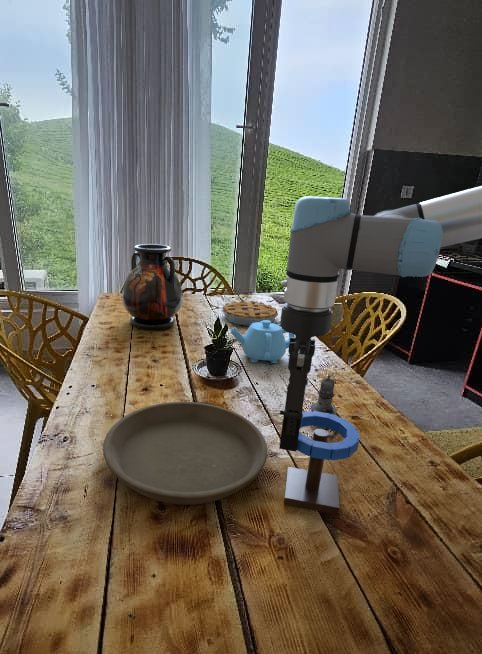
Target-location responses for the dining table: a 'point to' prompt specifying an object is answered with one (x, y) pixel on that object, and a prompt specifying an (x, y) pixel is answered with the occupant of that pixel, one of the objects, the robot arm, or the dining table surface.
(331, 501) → the peg stand
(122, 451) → the plant saucer
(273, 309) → the pie
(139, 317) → the amphora vase
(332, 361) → the dining table surface
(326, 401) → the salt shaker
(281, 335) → the teapot
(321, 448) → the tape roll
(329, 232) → the robot arm
